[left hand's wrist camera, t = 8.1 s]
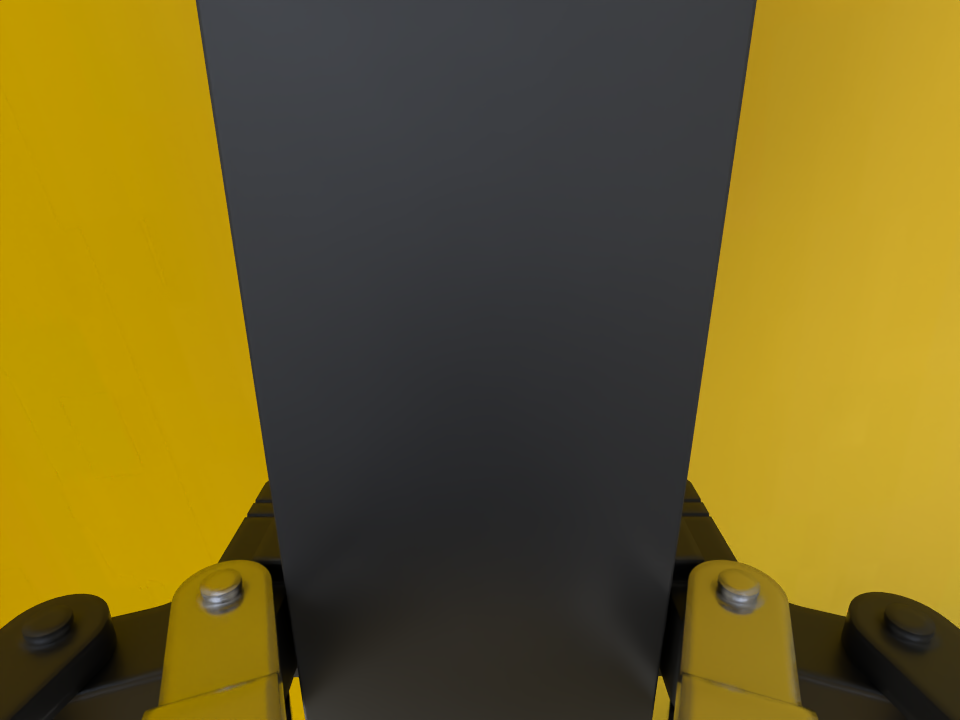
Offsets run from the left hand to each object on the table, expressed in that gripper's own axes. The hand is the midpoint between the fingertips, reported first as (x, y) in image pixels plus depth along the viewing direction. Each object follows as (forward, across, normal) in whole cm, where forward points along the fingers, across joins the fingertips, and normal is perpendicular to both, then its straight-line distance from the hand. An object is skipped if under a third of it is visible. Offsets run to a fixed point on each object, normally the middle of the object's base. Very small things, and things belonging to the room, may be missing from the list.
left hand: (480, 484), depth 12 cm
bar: (+4, 0, +10) cm, 10 cm away
